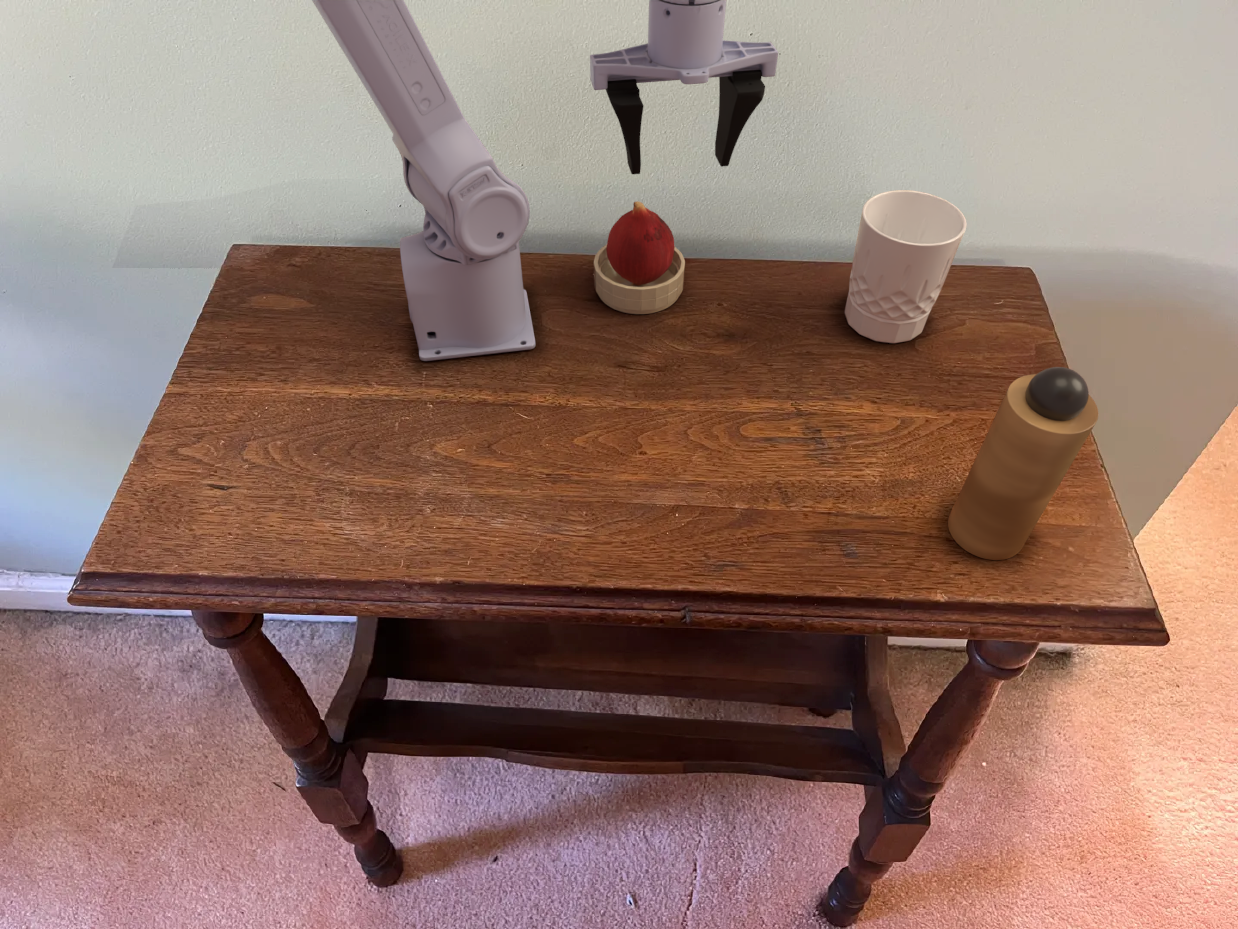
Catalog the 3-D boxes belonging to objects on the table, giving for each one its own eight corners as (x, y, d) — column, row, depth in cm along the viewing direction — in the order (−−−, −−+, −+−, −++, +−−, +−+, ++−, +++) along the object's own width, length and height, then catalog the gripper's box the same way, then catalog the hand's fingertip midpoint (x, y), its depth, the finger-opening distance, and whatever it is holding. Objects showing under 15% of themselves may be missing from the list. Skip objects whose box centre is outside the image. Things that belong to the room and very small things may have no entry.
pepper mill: (967, 565, 56) (1049, 410, 45) (935, 507, 59) (1004, 350, 49) (1037, 554, 56) (1134, 399, 46) (1002, 497, 60) (1084, 340, 49)
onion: (673, 266, 78) (678, 186, 72) (670, 305, 74) (675, 223, 68) (610, 262, 78) (610, 182, 72) (603, 301, 74) (602, 219, 68)
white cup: (819, 306, 74) (841, 204, 67) (890, 282, 77) (919, 180, 69) (877, 359, 70) (908, 255, 62) (950, 331, 72) (988, 228, 65)
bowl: (602, 320, 73) (602, 293, 71) (588, 267, 78) (587, 240, 76) (691, 310, 74) (694, 283, 72) (672, 258, 79) (673, 232, 77)
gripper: (599, 18, 59) (601, 196, 69) (800, 5, 60) (774, 180, 71) (584, -18, 63) (588, 153, 73) (771, -30, 65) (750, 140, 75)
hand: (678, 164), depth 72 cm, fingers open, 7 cm apart
